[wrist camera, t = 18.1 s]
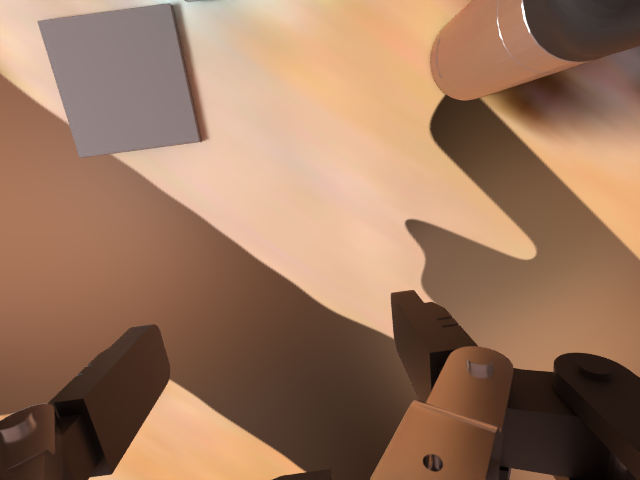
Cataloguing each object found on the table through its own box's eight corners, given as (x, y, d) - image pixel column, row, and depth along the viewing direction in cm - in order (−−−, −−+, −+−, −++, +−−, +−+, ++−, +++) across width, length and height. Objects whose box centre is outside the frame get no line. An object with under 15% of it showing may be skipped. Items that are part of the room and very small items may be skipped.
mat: (172, 6, 36) (169, 3, 36) (201, 141, 40) (199, 141, 39) (43, 23, 36) (37, 21, 36) (83, 157, 40) (79, 157, 39)
